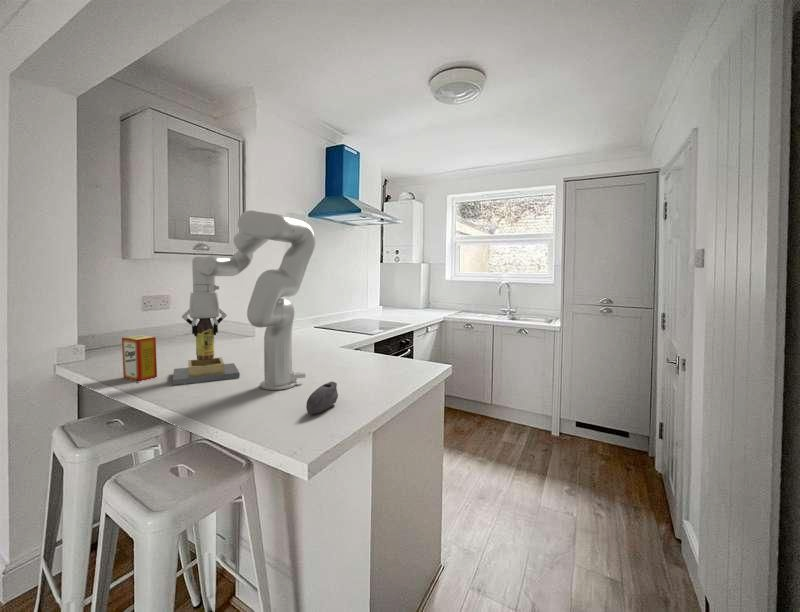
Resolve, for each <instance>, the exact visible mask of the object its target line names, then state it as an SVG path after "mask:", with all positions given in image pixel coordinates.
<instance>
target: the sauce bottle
mask: <svg viewBox="0 0 800 612" xmlns="http://www.w3.org/2000/svg"><path fill="white" fill-rule="evenodd" d="M213 325H214V324H213V323H212V320H211V318H203V319H199V321H198V322H197V324H196V332H197V336H195V352H196V353H195V355H196V360H210V359H213V358H215V335H214V328H213Z"/></svg>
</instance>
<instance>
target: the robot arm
mask: <svg viewBox="0 0 800 612" xmlns="http://www.w3.org/2000/svg"><path fill="white" fill-rule="evenodd" d="M237 228H238V230H239V232H238V233H236V234H235V235H234V236H233V243H234V246H235V247H236V249H237V250H238V251H236V252H235V253H234V254H232V256H224V255H208V256H194V257H193V258H192V261H191V262H192V263H191V267H192V268H191V269H192V292H190V294H189V295H190V296H189V309H188V310H187V311H186V312H184V313H183V314H182V315H181V319H183V320H184V321H185V322H187V323H188V324H189V325H190V326H191V334H192V335H194V337H196V336H197V332H196V326H197V324H196V323H197V321H198V319H203V318H210V319H212V321H213V324H212V325H213V328H214V336H216V335H217V334H218V333H219V330H218V329H219V324H220V323H221V322H222V321H223V320H224V319H225V318H227V316H228V315H227V313H225V312H224V310H222V309H221V308H220V302H219V295H218V293H217V292H216V291H217V290H220V286H219V285H216V278H215V277H234V276H237V275H240V274H241V273H242V272H243V271H244V270H246V269H247V268H248V267H249V266H250V265H251V264H252V260H253V257H254V253H255V252H257V250H259V249H260V248H261V247H262V246H263V245H264V244H266V243H267V242H268V241H274V242H282V243H289V244H291V245H290V247H289V248H288V249H287V250H286V252H285V253H284V255H283V257H282V259H281V263H280V266H279V267H278V268H277V269H273V268H272V269H267V270H265V271H263V272H262V273H261V274H260V275H259V276H258V278H257V280H256V282H255V284H254V288H253V290H252V294H251V297H250V299H249V302H248V306H247V310H246V315H247V317H246V318H247V320H248V322H249V323H250V325H252V326H253V327H255V328H261V329H262V328H265V330H264V336H263V337H264V338H263V355H264V356H263V357H264V358H263V359H264V360H263V362H264V364H263V365H264V367H263V368H264V371H263V372H264V380H262V381H261V382H260V383H259V386H260V388H261V389H262V390H263V389H264V390H268V391H278V390H279V391H281V390H286V389H290V388H293V387H295V386H296V385H297V383H298V382H297V380H298V379H305V378H306V373H305V372H299V371H298V372H294V371H293V324H294V320H295V319H294V318H295V307H294V305H293V303H292V302H291V301H290V300H289V299H287V298H290V297H294V296H296V295H297V294H298V292H299V290H300V287H301V285H302V282H303V279H304V276H305V274H306V271H307V268H308V264H309V262H310V260H311V257H312V255H313V253H314V250H315V246H316V235H315V232H314V230H313V229H312V227H311V226H310V225H309V224H308V223H307V222H305V221H303V220H301V219H300V218H299V219H298V218H294V217H291V216H286V215H282V214H277V213H269V212H264V211H263V212H262V211H256V210H250V209H249V210H246V211H243V213H241V214H240V216H239V217H238V219H237ZM220 315H221V316H220ZM188 316H189V317H190V318H191V319H192V320H191V319H190V318H189V317H188ZM218 317H219V318H218ZM217 318H218V319H217Z"/></svg>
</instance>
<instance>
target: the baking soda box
mask: <svg viewBox="0 0 800 612" xmlns="http://www.w3.org/2000/svg"><path fill="white" fill-rule="evenodd" d="M156 342H157V338H156V336H151V335H150V336H149V335H144V334H143V335H142V334H141V335H132V336H123V337H121V346H122V347H121V351H122V370H123V379H124V378H127V379H126V380H129V379H132V380H131V381H134V380H136V381H135V382H139V381H140V382H143V381H142V380H144V381H148V380H151V378H153V379H156V378H155V377H157V378H158V370H157V369H158V368H157V367H158V366H157V364H158V363H157V347H156V346H157V343H156ZM147 379H148V380H147Z"/></svg>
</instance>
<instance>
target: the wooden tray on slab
mask: <svg viewBox="0 0 800 612" xmlns="http://www.w3.org/2000/svg"><path fill="white" fill-rule="evenodd" d="M187 361H188V362H187V364H188V365H187V366H188V367H179V368H173V374H172V375H173V376H172V385H173V386H179V385H178V384H181V385H187V384H186V383H190V384H197V383H196V382H199V383H206V382H205V381H208V382H215V381H214V380H216V381H222V380H223V379H225V380H231V378H234V379H240V378H239V377H240V372H239V369H238V367H237V366H236V364H235V363H234V362H233V363H232V362H231V363H225V362H224V360H223V358H222V356H221V357H214V358H213V359H210V360H197V359H189V360H187ZM223 381H224V380H223Z"/></svg>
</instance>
